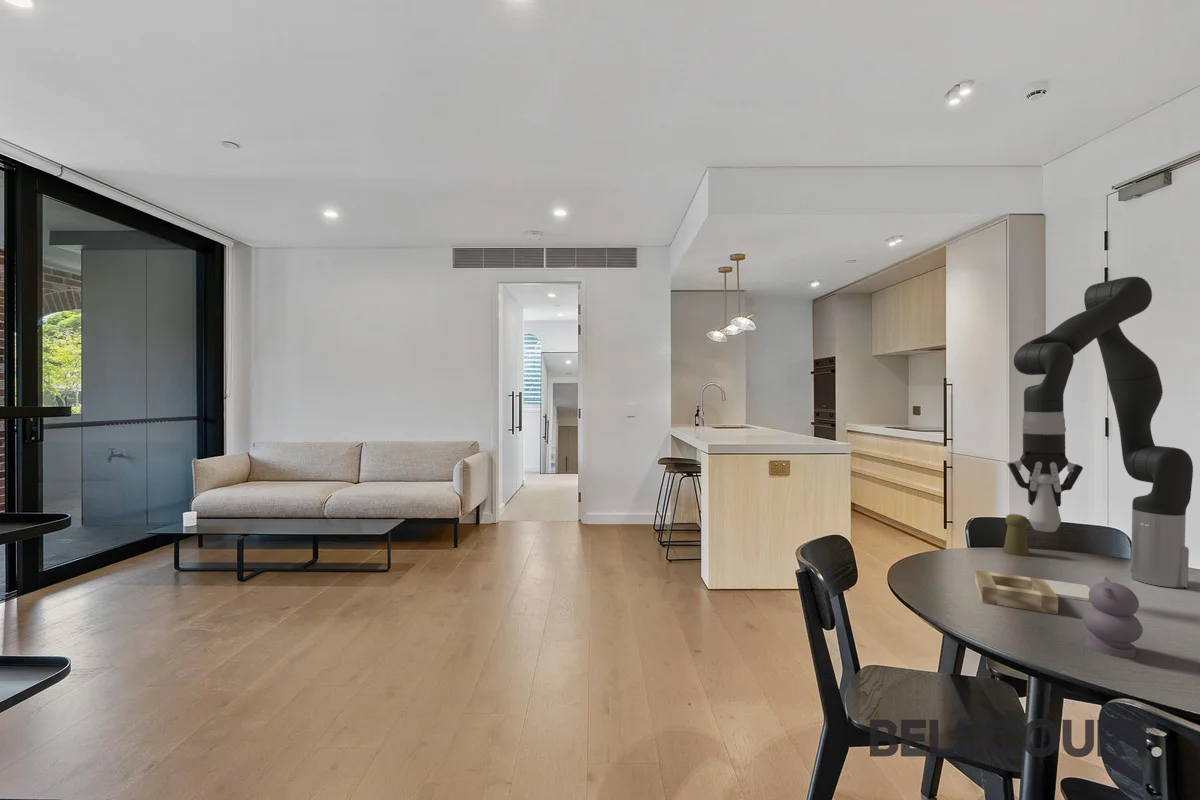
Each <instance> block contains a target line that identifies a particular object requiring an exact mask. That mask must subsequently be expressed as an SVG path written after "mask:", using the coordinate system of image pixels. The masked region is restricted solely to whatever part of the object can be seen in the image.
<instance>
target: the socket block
mask: <svg viewBox="0 0 1200 800" xmlns="http://www.w3.org/2000/svg"><path fill="white" fill-rule="evenodd" d="M974 574H975V575H974V577H975V579H974V580H975V581H974V583H975V588H976V590H977V593H978V596H979V597H980V601H981V603H983V604H989V605H995V604H997V605H996V606H1001V605H1003V606H1002V607H1008V608H1016V609H1022V610H1027V611H1028V610H1029V611H1034V612H1041V613H1046V614H1052V615H1053V614H1054V615H1058V614H1059V597H1057V595H1056V594H1055V593H1054V591H1053V590H1052V589H1051V588H1050V586H1049V585H1048V584H1047V582H1046V581H1045V580H1046V579H1044V578H1037V577H1029V576H1024V575H1023V576H1022V575H1014V574H1009V573H1008V574H1007V573H998V572H995V571H994V572H993V571H987V570H976V569H975V573H974Z"/></svg>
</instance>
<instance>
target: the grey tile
mask: <svg viewBox="0 0 1200 800" xmlns="http://www.w3.org/2000/svg"><path fill="white" fill-rule="evenodd" d="M1044 580H1045V581H1046V582H1047V584H1048V585H1049V586H1050V588H1051V589H1052V590H1053V591H1054V593H1055V594H1056V595H1057V597H1058V598H1065V599H1072V600H1079V601H1085V602H1090V600H1089V591H1090V589H1091V588H1090V587H1089V586H1088V585H1087V584H1079V583H1073V582H1067V581H1065V582H1064V581H1059V580H1058V581H1057V580H1053V579H1051V580H1050V579H1044Z"/></svg>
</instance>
